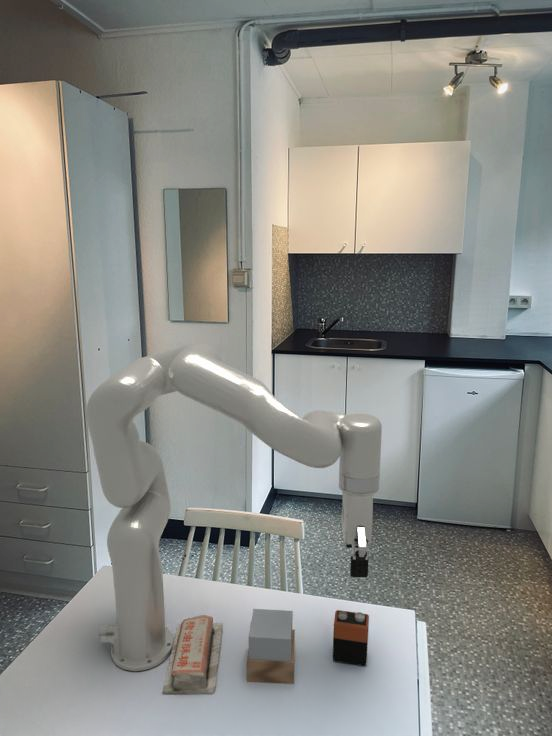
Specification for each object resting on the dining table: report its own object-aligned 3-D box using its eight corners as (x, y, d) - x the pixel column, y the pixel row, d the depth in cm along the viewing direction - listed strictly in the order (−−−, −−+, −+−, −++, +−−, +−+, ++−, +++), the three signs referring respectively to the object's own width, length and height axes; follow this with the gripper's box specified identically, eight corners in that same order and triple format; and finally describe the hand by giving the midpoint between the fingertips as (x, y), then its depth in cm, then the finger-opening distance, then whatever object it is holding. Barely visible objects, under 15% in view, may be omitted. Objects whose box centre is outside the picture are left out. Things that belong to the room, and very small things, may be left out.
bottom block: (247, 682, 103) (246, 661, 102) (251, 648, 112) (251, 627, 111) (293, 685, 103) (294, 663, 101) (294, 650, 111) (294, 629, 110)
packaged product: (215, 674, 99) (161, 675, 99) (215, 696, 100) (162, 697, 100) (223, 609, 117) (177, 609, 116) (223, 628, 118) (178, 628, 118)
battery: (366, 667, 107) (368, 624, 104) (332, 661, 108) (333, 619, 106) (367, 651, 111) (369, 609, 108) (334, 646, 112) (335, 604, 110)
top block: (248, 659, 102) (248, 636, 101) (253, 629, 110) (253, 608, 109) (290, 661, 102) (290, 639, 101) (292, 632, 109) (292, 610, 108)
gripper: (336, 461, 109) (334, 536, 113) (342, 501, 92) (340, 588, 96) (373, 461, 109) (370, 537, 112) (386, 502, 92) (382, 589, 96)
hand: (356, 561), depth 104 cm, fingers open, 9 cm apart
